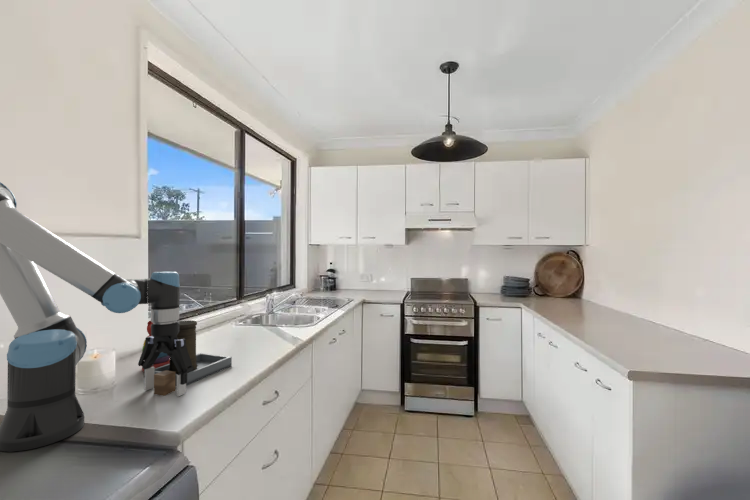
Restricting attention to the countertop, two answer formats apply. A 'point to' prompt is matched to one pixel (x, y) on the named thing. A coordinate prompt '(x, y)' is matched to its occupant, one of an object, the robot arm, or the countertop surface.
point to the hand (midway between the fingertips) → (165, 391)
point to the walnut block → (164, 383)
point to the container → (187, 342)
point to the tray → (202, 367)
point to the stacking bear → (163, 357)
